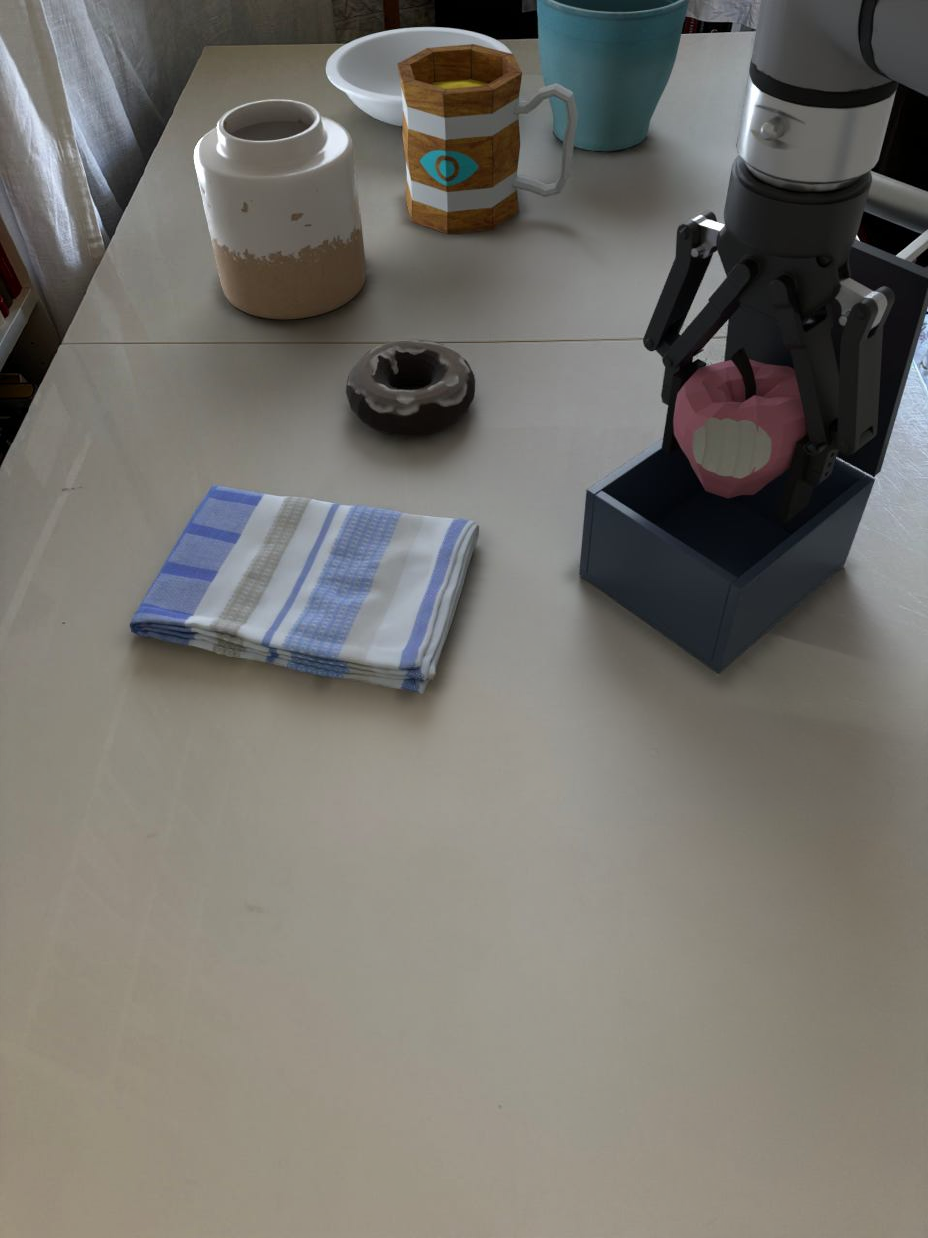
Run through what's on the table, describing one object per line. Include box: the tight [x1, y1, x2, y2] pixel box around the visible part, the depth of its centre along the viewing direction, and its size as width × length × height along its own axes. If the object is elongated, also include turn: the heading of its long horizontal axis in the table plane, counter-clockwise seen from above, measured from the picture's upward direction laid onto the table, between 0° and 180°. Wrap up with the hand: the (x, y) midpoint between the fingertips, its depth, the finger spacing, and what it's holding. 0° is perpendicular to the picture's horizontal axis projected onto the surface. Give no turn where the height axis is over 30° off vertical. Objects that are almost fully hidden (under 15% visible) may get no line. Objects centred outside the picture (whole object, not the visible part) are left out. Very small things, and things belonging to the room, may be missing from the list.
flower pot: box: [536, 0, 690, 152], centre depth 126 cm, size 18×18×17 cm
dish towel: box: [129, 484, 480, 695], centre depth 79 cm, size 17×24×3 cm
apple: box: [673, 348, 808, 498], centre depth 70 cm, size 10×9×10 cm
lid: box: [723, 170, 928, 478], centre depth 72 cm, size 16×14×10 cm
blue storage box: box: [578, 437, 876, 674], centre depth 77 cm, size 16×14×9 cm
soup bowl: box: [325, 26, 513, 127], centre depth 134 cm, size 24×24×7 cm
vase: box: [193, 98, 367, 320], centre depth 104 cm, size 15×15×17 cm
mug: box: [398, 44, 578, 235], centre depth 114 cm, size 20×14×15 cm
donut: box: [345, 338, 476, 437], centre depth 94 cm, size 12×12×4 cm
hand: (732, 476), depth 73 cm, fingers closed on apple, 9 cm apart
